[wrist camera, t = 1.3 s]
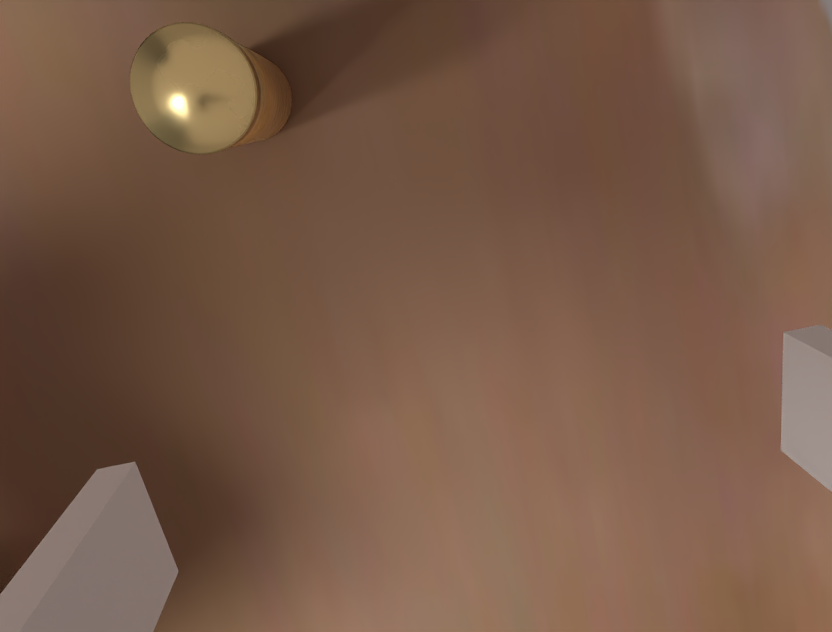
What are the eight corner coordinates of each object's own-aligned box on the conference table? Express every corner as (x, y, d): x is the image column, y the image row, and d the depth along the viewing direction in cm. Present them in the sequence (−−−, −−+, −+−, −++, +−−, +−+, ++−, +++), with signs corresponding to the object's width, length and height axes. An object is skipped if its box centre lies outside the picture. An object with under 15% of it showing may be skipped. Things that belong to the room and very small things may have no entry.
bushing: (208, 138, 30) (132, 149, 20) (206, 48, 28) (124, 15, 19) (292, 145, 30) (256, 159, 21) (294, 56, 29) (256, 28, 19)
